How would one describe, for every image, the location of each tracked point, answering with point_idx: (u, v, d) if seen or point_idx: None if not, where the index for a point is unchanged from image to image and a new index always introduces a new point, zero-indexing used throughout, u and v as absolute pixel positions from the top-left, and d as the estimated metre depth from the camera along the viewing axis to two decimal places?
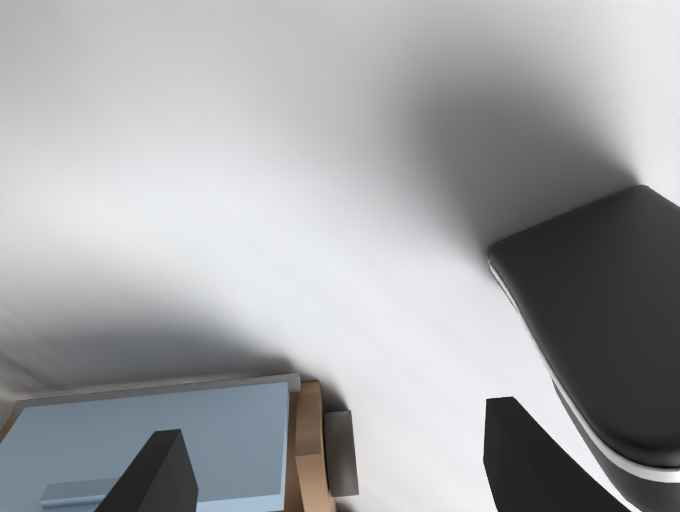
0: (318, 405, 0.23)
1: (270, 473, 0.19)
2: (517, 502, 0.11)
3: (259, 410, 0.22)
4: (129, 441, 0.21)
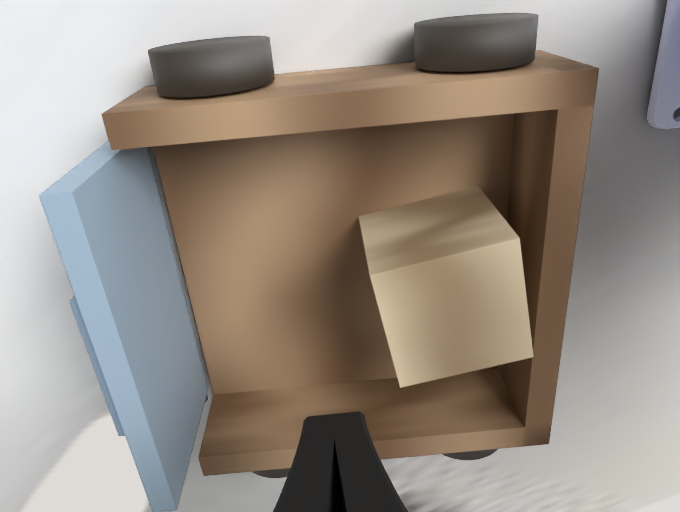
0: (132, 97, 0.17)
1: None
2: None
3: None
4: None
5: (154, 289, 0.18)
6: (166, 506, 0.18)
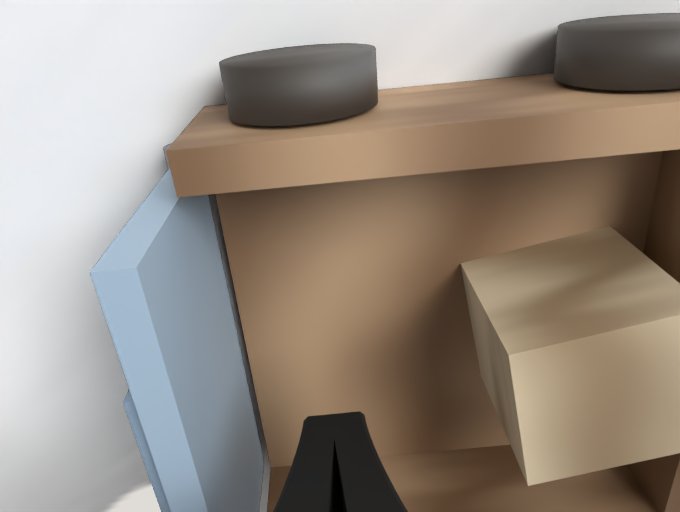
0: None
1: None
2: None
3: None
4: None
5: (218, 363, 0.14)
6: None
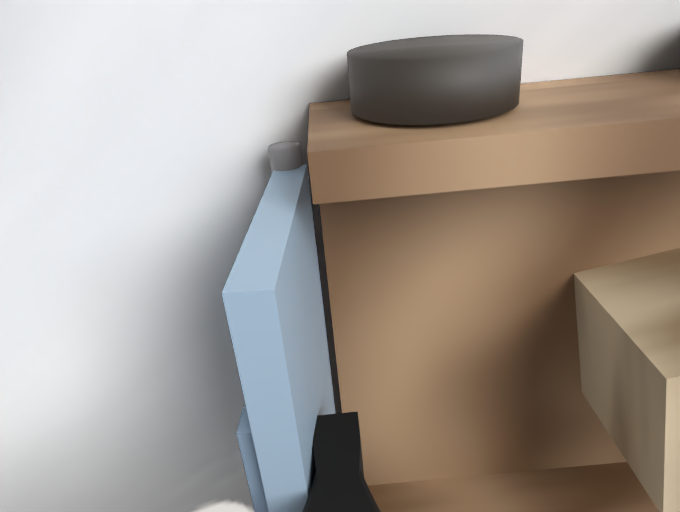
0: (309, 120, 0.12)
1: None
2: None
3: None
4: None
5: (319, 384, 0.13)
6: None
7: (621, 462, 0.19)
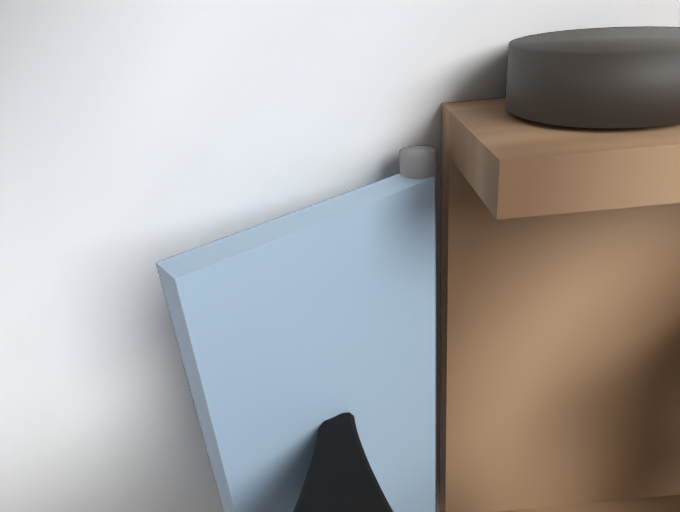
0: (458, 123, 0.11)
1: None
2: None
3: None
4: None
5: (353, 402, 0.12)
6: None
7: None
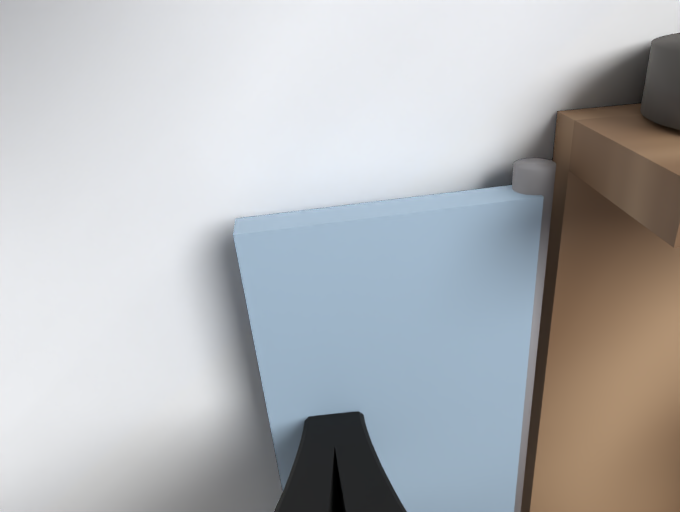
0: (594, 134, 0.10)
1: None
2: None
3: None
4: None
5: (410, 400, 0.12)
6: None
7: None
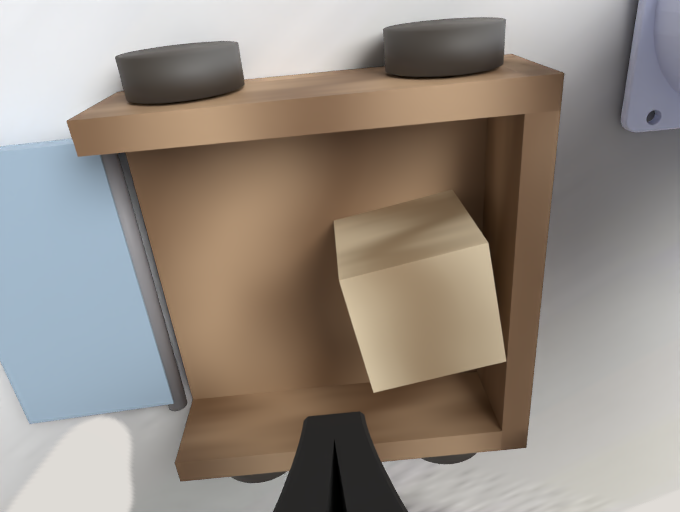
0: (101, 103, 0.17)
1: None
2: None
3: None
4: None
5: (56, 274, 0.20)
6: None
7: None
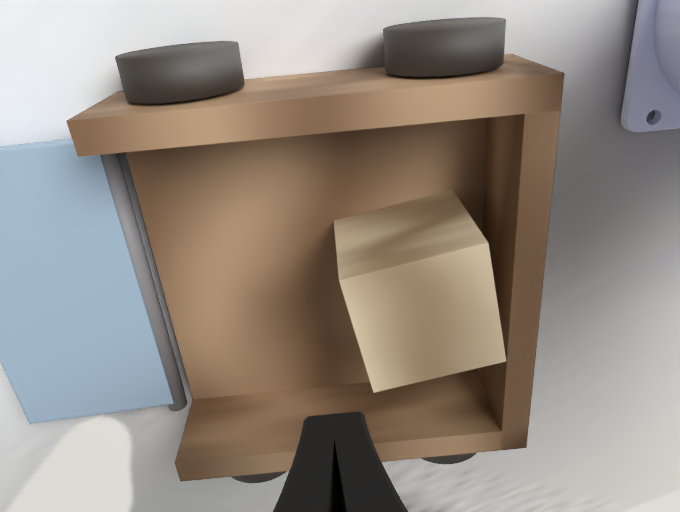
0: (101, 103, 0.17)
1: None
2: None
3: None
4: None
5: (56, 274, 0.20)
6: None
7: None
